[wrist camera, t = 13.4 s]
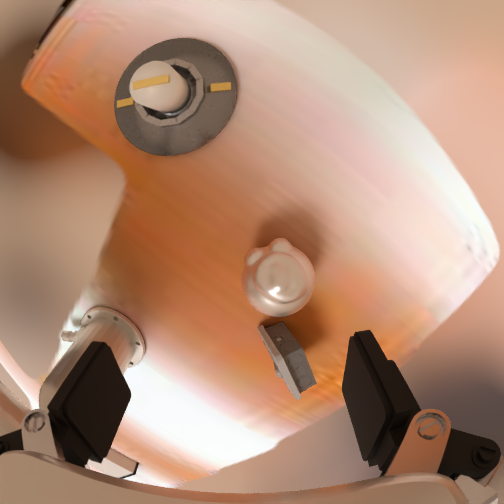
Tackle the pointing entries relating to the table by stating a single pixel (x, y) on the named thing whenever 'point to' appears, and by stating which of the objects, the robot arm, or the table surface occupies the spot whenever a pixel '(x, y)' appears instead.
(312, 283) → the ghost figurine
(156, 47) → the socket
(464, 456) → the robot arm
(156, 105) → the white rounded cylinder
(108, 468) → the disc drive
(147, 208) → the table surface
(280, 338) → the electrical switch
